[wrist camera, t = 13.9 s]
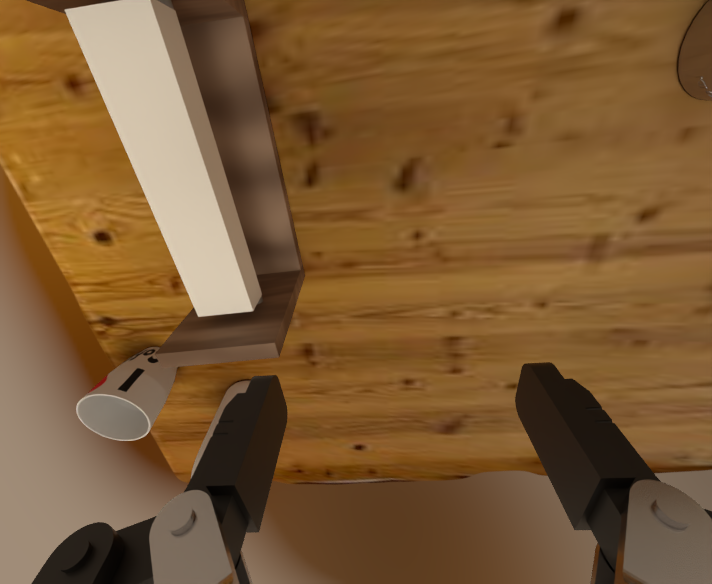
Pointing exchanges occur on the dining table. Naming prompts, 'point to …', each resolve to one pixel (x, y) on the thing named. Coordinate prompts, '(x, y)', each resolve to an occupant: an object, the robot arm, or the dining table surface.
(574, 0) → the dining table surface
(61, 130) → the dining table surface
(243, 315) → the shelf frame
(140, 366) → the cup
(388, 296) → the dining table surface
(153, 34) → the shelf board
